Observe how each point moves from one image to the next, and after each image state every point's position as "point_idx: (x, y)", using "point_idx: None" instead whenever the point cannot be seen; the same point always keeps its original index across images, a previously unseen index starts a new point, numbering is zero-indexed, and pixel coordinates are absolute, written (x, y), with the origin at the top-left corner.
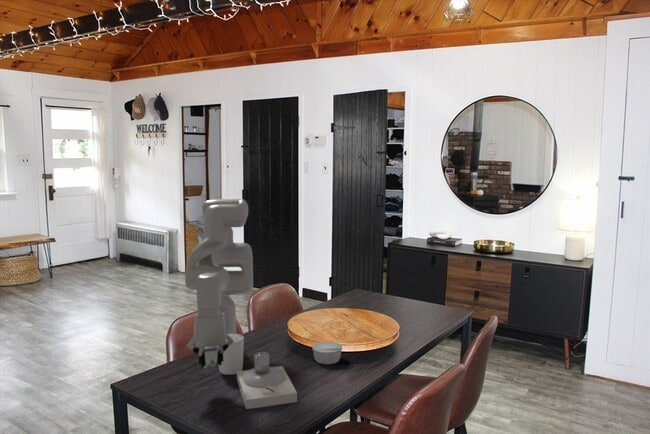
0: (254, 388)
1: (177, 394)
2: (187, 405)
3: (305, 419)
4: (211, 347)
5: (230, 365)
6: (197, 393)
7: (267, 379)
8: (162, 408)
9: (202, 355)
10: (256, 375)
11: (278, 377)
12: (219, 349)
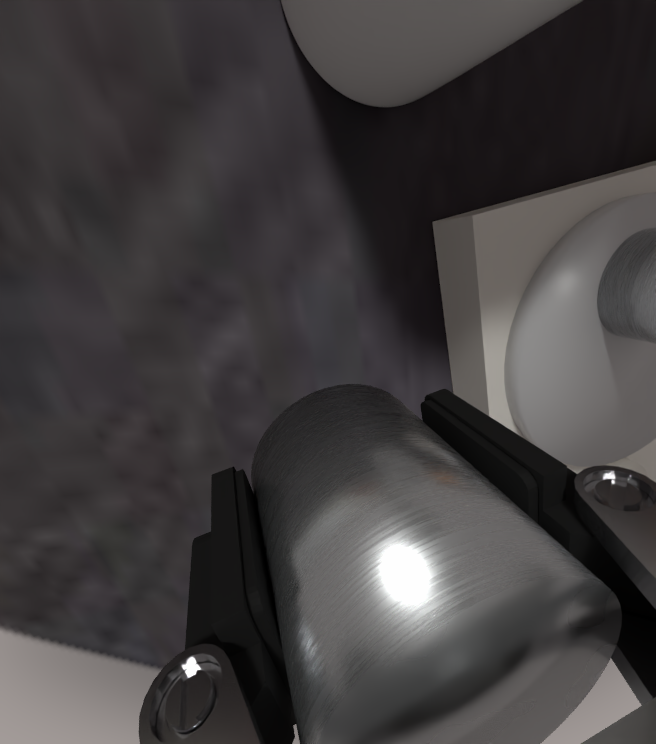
0: None
1: (50, 460)
2: (189, 573)
3: None
4: (498, 660)
5: (430, 79)
6: (202, 433)
7: (637, 404)
8: (39, 632)
9: (285, 701)
10: (597, 349)
11: None
12: (620, 665)
